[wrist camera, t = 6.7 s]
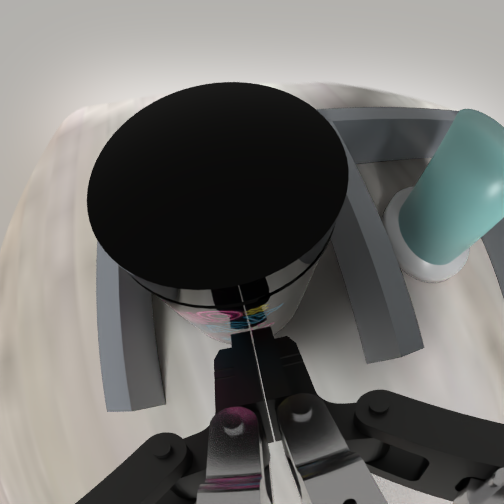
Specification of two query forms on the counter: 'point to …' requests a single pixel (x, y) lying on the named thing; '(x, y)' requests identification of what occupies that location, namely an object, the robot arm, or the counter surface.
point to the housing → (353, 240)
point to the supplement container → (221, 202)
